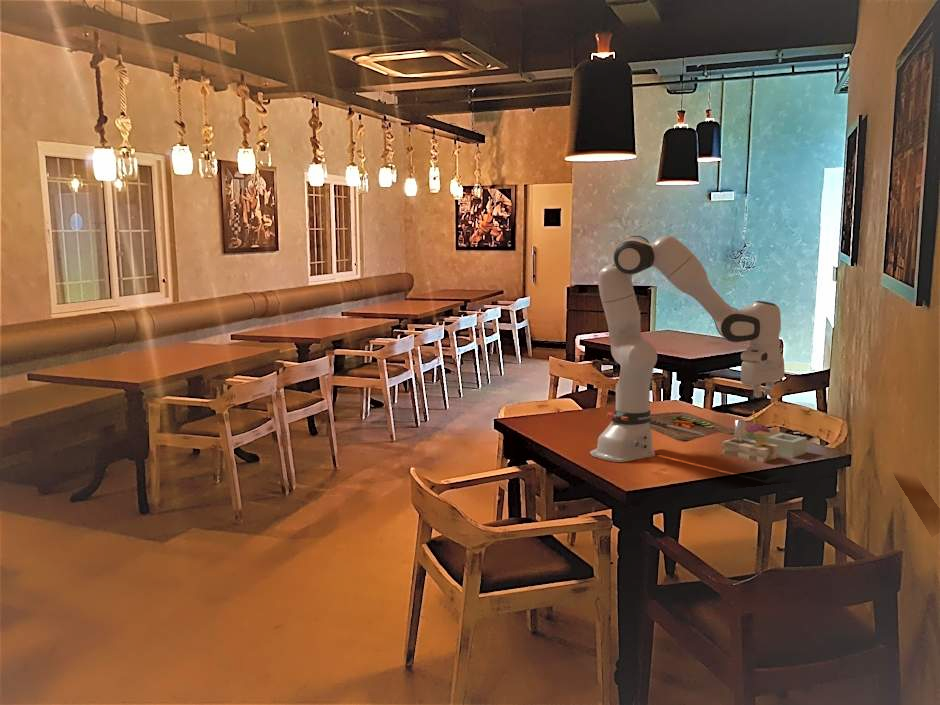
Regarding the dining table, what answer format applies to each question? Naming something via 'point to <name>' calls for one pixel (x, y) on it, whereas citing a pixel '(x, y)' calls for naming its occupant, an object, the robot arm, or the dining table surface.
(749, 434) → the cupcake
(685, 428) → the chopping board
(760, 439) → the drift key
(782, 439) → the bit rack
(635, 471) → the dining table surface
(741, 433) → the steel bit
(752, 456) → the socket block
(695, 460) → the dining table surface
